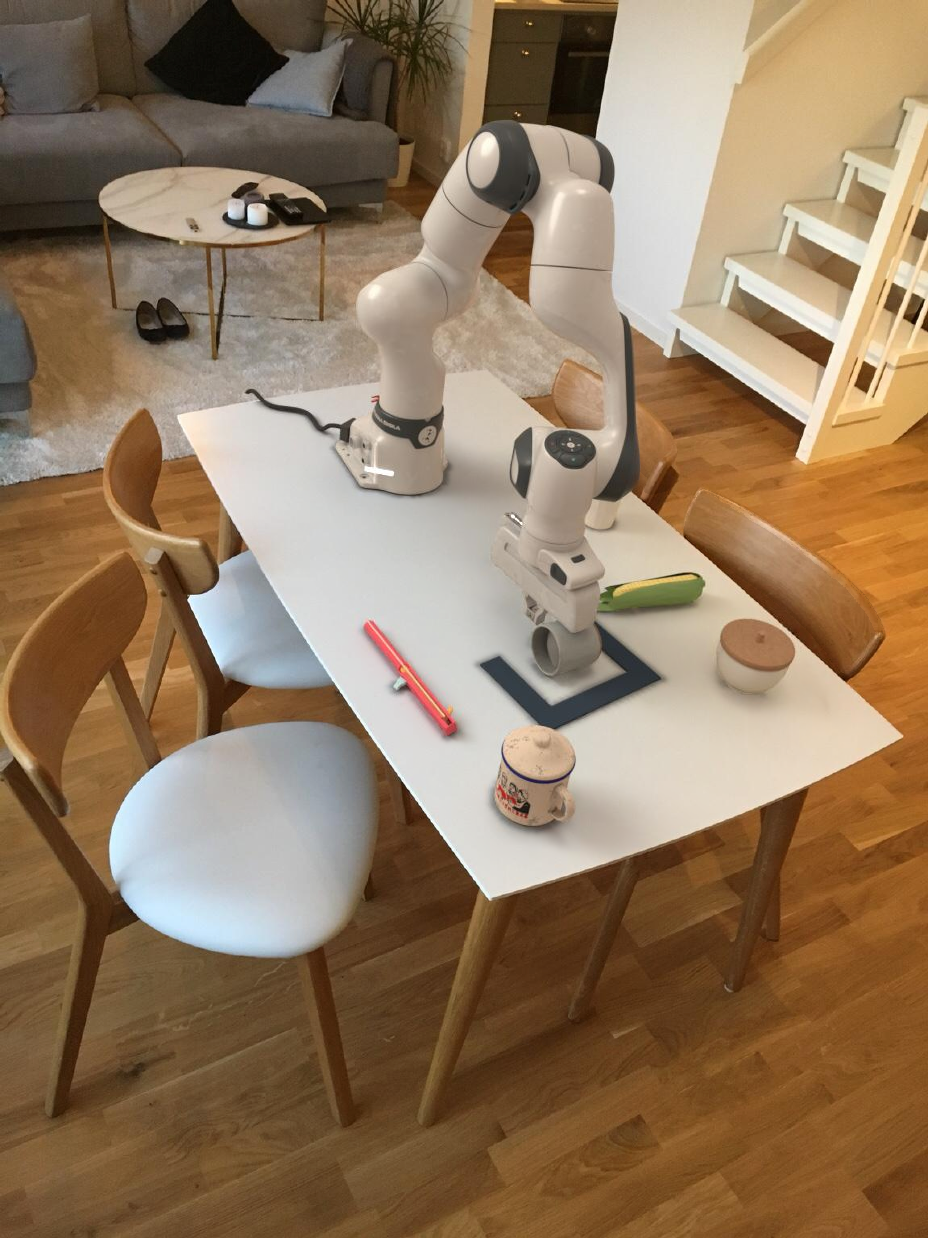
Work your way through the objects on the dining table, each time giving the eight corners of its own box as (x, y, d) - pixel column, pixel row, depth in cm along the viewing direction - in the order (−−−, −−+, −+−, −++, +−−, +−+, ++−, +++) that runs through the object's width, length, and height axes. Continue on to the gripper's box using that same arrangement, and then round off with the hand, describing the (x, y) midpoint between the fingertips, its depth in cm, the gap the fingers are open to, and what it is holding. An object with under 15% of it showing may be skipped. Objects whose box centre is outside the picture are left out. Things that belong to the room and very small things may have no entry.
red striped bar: (435, 744, 133) (465, 726, 134) (433, 735, 131) (462, 717, 133) (353, 637, 148) (380, 622, 149) (349, 628, 146) (377, 612, 147)
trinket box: (709, 698, 145) (727, 650, 139) (705, 651, 154) (722, 603, 148) (782, 711, 145) (804, 663, 139) (775, 663, 153) (794, 616, 147)
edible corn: (707, 605, 163) (714, 583, 160) (597, 621, 156) (603, 598, 154) (691, 586, 167) (698, 564, 164) (584, 600, 160) (589, 578, 157)
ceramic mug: (600, 672, 147) (610, 631, 142) (554, 687, 143) (563, 646, 138) (559, 630, 154) (568, 590, 149) (515, 643, 150) (522, 602, 145)
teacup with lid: (478, 789, 127) (490, 724, 119) (534, 763, 131) (549, 700, 124) (535, 857, 119) (551, 792, 112) (592, 827, 124) (612, 763, 117)
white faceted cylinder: (574, 524, 177) (581, 491, 173) (583, 506, 182) (590, 473, 178) (611, 535, 176) (620, 501, 171) (619, 516, 181) (627, 483, 177)
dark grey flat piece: (480, 665, 145) (480, 663, 145) (591, 619, 156) (592, 618, 156) (547, 732, 136) (547, 730, 136) (661, 679, 147) (661, 677, 147)
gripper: (488, 511, 145) (476, 586, 154) (579, 588, 134) (560, 665, 142) (521, 501, 149) (508, 575, 157) (613, 575, 137) (593, 651, 145)
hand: (533, 618), depth 150 cm, fingers closed
